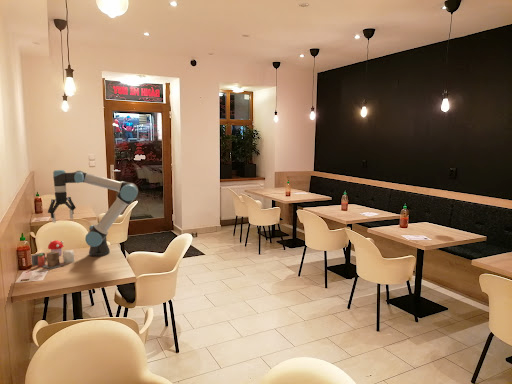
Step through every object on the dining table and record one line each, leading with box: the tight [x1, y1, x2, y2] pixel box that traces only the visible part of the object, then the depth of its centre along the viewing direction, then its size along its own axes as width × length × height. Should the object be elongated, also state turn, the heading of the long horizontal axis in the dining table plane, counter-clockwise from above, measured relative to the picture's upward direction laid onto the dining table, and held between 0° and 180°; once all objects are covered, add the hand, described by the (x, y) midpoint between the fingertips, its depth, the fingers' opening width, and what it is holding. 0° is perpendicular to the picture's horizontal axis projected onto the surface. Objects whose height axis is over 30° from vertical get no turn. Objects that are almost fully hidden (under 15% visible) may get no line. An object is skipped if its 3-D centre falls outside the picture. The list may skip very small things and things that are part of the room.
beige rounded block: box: [62, 249, 75, 264], centre depth 281 cm, size 7×7×8 cm
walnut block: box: [46, 251, 61, 267], centre depth 272 cm, size 6×6×9 cm
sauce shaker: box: [37, 253, 46, 268], centre depth 273 cm, size 4×4×9 cm
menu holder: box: [30, 252, 46, 266], centre depth 278 cm, size 8×3×7 cm, turn 150°
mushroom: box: [47, 239, 65, 257], centre depth 297 cm, size 11×11×12 cm
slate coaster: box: [41, 262, 67, 270], centre depth 273 cm, size 11×11×1 cm
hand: (63, 220), depth 279 cm, fingers open, 13 cm apart
